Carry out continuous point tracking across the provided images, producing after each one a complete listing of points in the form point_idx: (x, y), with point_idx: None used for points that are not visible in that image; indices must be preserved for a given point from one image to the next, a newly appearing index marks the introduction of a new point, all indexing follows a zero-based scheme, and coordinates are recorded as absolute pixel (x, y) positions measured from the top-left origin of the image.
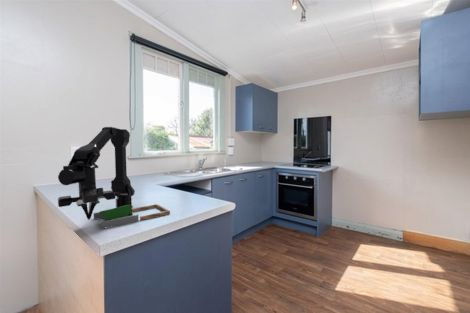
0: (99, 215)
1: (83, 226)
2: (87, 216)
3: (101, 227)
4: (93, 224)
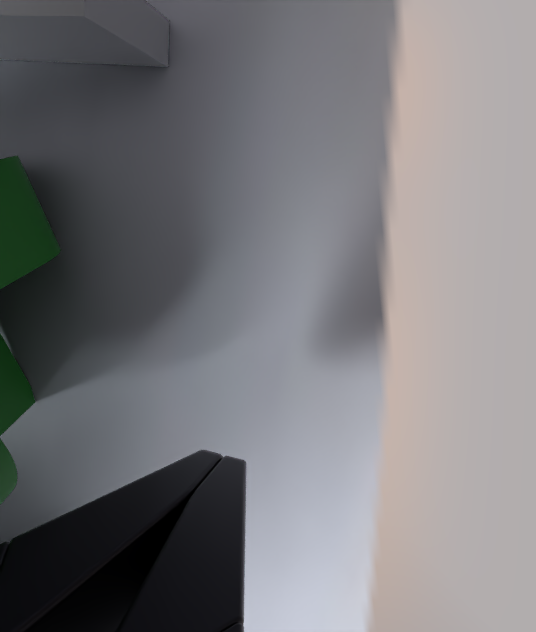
0: None
1: (345, 424)
2: (227, 501)
3: (138, 8)
4: (204, 391)
